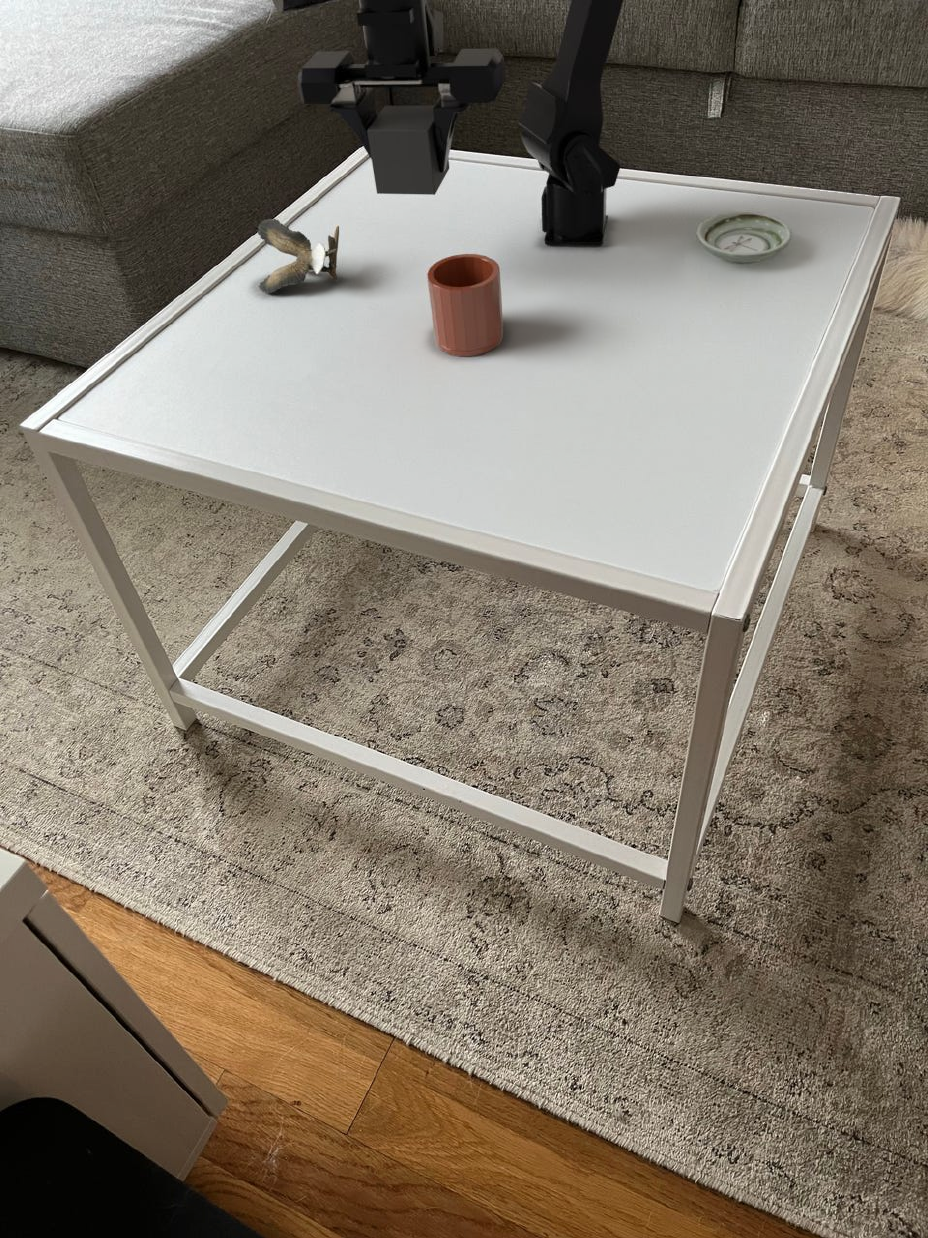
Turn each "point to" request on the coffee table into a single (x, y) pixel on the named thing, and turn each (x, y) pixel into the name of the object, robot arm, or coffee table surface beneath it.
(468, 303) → the cup
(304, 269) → the eagle figurine
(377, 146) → the block
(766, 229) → the saucer
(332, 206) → the coffee table surface
